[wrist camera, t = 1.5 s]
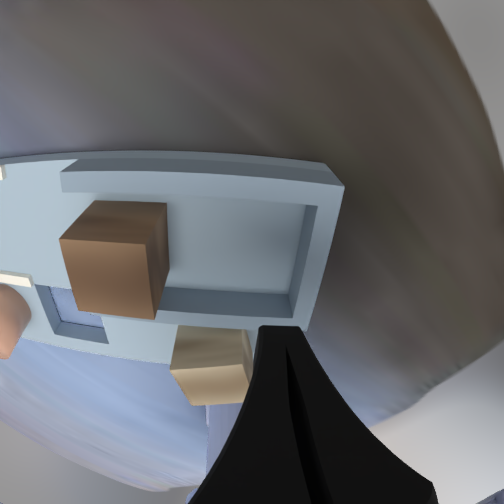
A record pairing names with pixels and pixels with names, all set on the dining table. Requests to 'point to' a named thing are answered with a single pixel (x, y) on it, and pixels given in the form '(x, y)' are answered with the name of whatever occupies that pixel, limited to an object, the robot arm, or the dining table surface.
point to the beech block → (212, 364)
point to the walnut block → (118, 257)
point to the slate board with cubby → (175, 240)
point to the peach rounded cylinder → (11, 319)
